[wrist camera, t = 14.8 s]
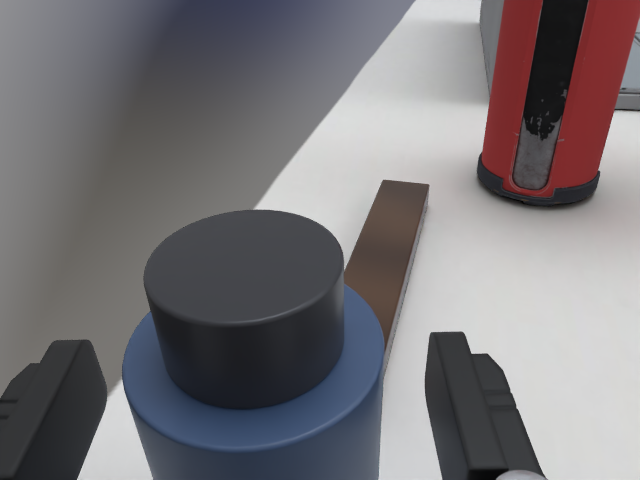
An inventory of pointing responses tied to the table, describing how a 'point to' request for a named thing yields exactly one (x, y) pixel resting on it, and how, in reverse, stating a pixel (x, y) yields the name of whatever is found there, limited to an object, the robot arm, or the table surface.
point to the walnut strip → (388, 252)
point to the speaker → (554, 96)
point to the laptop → (636, 83)
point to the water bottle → (255, 355)
